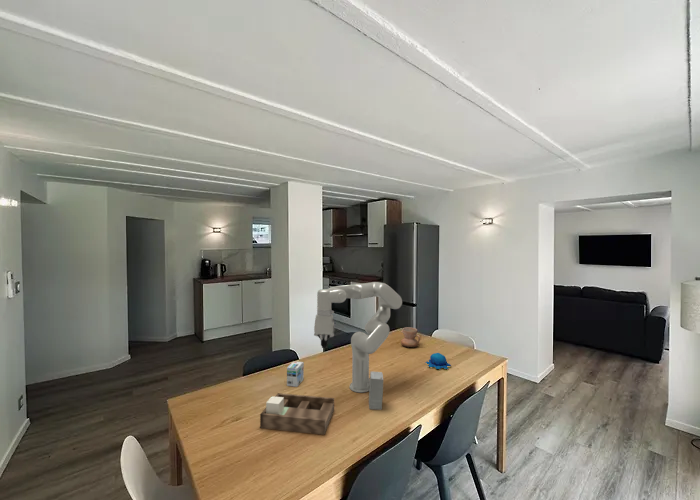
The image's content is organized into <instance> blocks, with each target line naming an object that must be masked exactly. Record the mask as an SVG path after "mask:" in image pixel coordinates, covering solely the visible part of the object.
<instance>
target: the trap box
mask: <svg viewBox="0 0 700 500" xmlns="http://www.w3.org/2000/svg"><path fill="white" fill-rule="evenodd" d="M274 397H284V411H283V412H282V414H281V415H279V414H269V413H266V407H265V408H264V409H263V410H262V412H261V413H260V416H259V418H260V419H259V423H260V425H259V426H260V427H259V428H260V429H266V430H267V429H269V430H276V431H278V430H279V431H285V432H286V431H287V432H296V433H306V434H315V435H322V436H323V435H324V436H325V434H326V432H327V430H328V427H329V425H330V422H331V420H332V417H333V414H334V411H335V398H334V397H326V396H314V395H304V394H303V395H302V394H292V393H278V392H277V394H276V395H275V396H274Z"/></svg>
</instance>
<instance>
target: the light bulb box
mask: <svg viewBox="0 0 700 500" xmlns="http://www.w3.org/2000/svg"><path fill="white" fill-rule="evenodd" d="M304 367H305V364H304V361H296V360H295V361H294V360H293V361H291V363H289V365H288V366H287V367H286V386H287V387H294V388H298V386H299V385H300V384H302V382H304V370H305V369H304Z"/></svg>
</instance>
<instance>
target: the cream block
mask: <svg viewBox="0 0 700 500" xmlns="http://www.w3.org/2000/svg"><path fill="white" fill-rule="evenodd" d="M265 408H266V413H269V414H279V415H281V414H282V412H283V411H284V397H275V396H272V395H271V397H270V398H268V399H267V401H266V402H265Z"/></svg>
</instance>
